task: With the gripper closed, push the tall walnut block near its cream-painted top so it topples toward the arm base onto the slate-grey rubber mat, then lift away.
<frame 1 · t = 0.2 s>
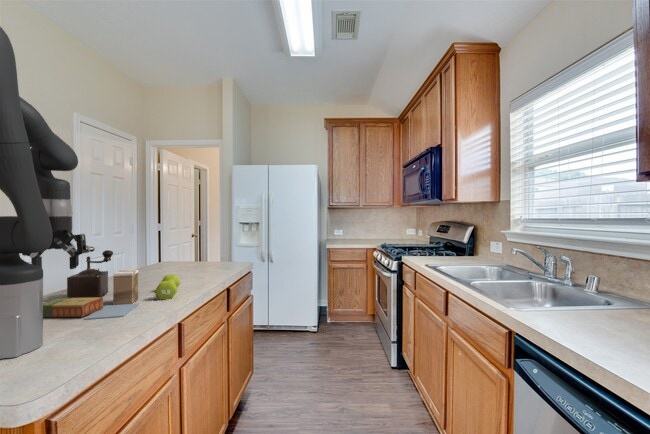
hand: (55, 269, 82), 17 cm above the countertop, tool pointing down, fingers open, 8 cm apart
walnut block: (126, 302, 106), on the countertop
dumbbell: (168, 295, 117), on the countertop
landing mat: (113, 311, 96), on the countertop
carton: (70, 313, 94), on the countertop, touching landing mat
manual coffee grinder: (92, 295, 116), on the countertop
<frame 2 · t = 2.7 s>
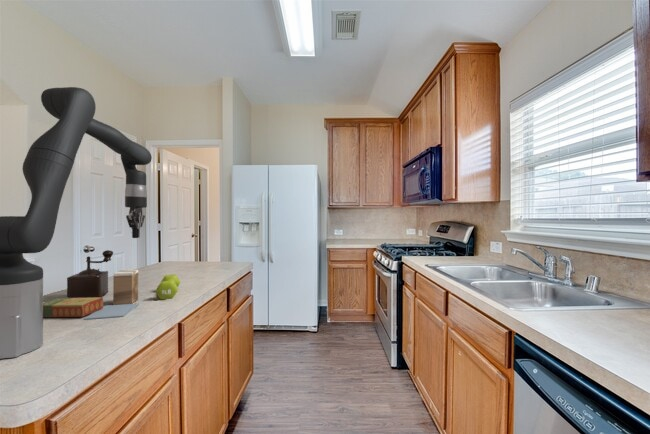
hand: (135, 237, 114), 24 cm above the countertop, tool pointing down, fingers closed
nothing on the countertop moved.
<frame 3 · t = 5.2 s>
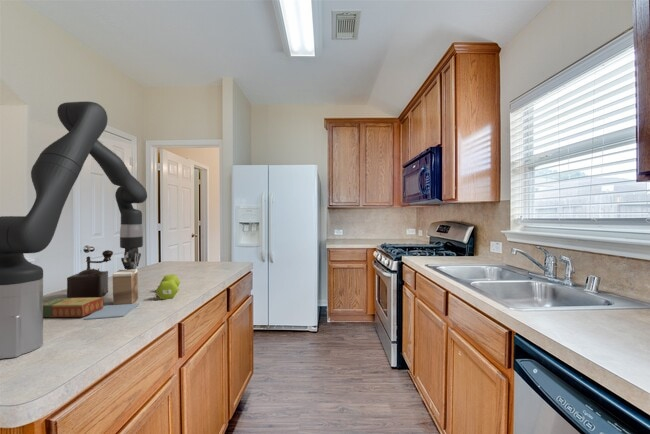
hand: (131, 278, 111), 8 cm above the countertop, tool pointing down, fingers closed
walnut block: (126, 302, 106), on the countertop, touching gripper
everything else where it was.
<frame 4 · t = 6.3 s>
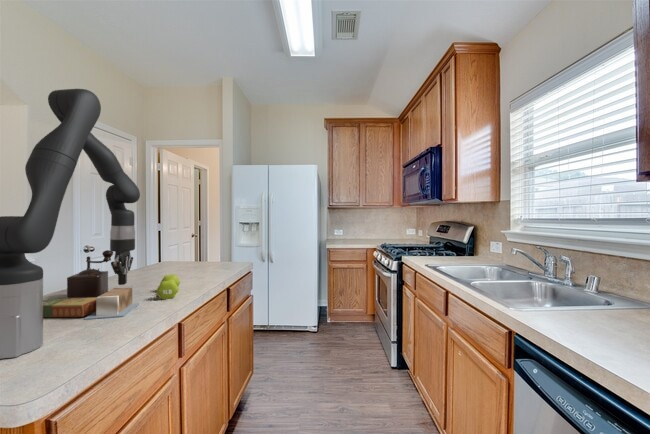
hand: (122, 284, 103), 8 cm above the countertop, tool pointing down, fingers closed
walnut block: (123, 295, 103), point 3 cm above the countertop, tilted 90°, touching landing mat
everything else where it was.
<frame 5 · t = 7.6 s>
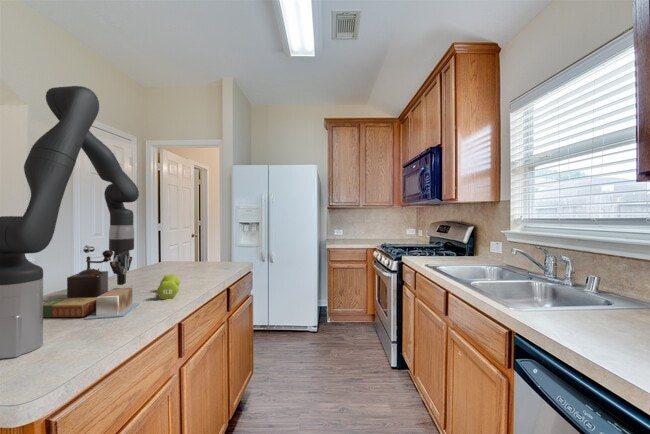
hand: (121, 284, 102), 8 cm above the countertop, tool pointing down, fingers closed
nothing on the countertop moved.
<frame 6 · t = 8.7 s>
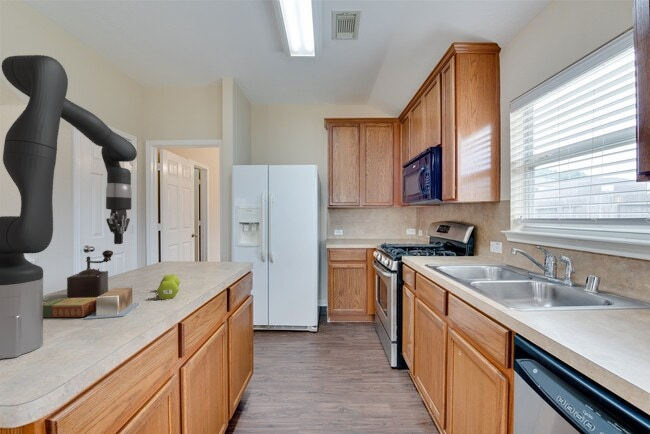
hand: (118, 243, 101), 23 cm above the countertop, tool pointing down, fingers closed
nothing on the countertop moved.
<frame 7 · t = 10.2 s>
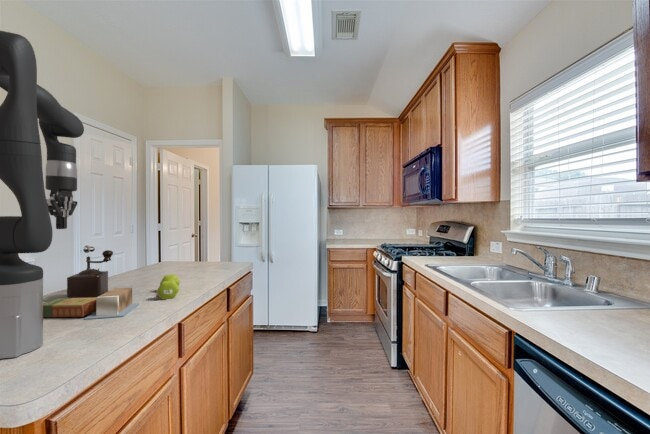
hand: (61, 228, 91), 29 cm above the countertop, tool pointing down, fingers closed
nothing on the countertop moved.
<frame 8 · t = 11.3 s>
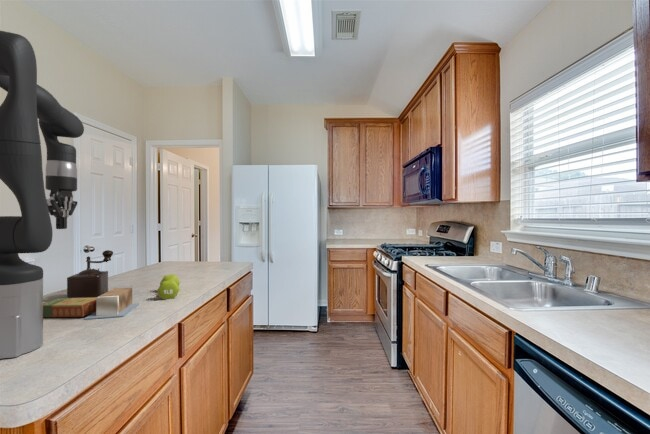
hand: (61, 228, 91), 29 cm above the countertop, tool pointing down, fingers closed
nothing on the countertop moved.
at the end: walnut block tilted 90°; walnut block touching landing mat; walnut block inside the target area (0.3 cm from its centre), point 3.4 cm above the countertop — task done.
